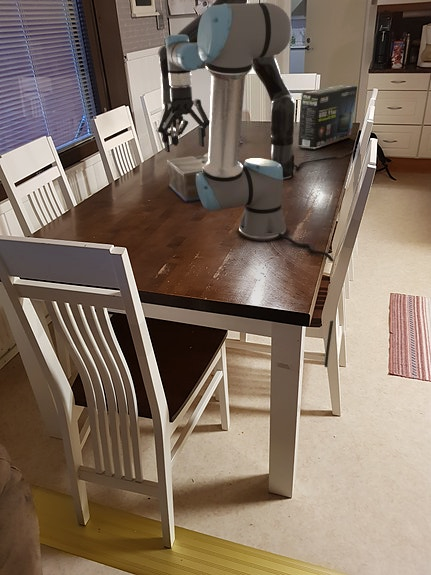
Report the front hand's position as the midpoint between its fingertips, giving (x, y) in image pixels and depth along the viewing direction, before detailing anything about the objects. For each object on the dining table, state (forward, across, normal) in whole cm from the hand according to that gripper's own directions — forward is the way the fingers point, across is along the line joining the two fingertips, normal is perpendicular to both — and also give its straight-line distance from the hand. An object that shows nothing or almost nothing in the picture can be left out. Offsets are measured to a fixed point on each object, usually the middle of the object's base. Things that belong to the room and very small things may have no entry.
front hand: (184, 148), depth 168 cm
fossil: (+20, -29, -38) cm, 52 cm away
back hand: (+5, -6, -24) cm, 25 cm away
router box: (+20, -97, -40) cm, 107 cm away
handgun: (+20, -60, -74) cm, 98 cm away
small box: (+20, -4, -8) cm, 22 cm away
